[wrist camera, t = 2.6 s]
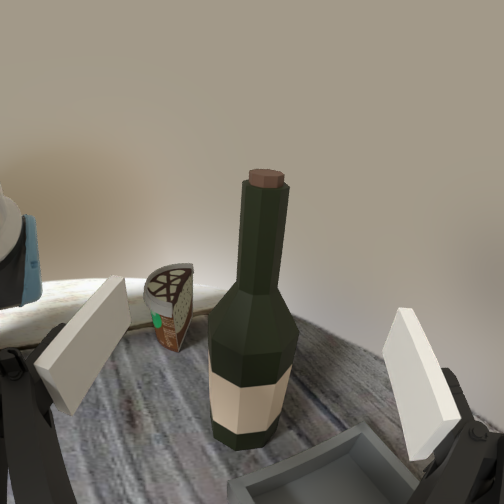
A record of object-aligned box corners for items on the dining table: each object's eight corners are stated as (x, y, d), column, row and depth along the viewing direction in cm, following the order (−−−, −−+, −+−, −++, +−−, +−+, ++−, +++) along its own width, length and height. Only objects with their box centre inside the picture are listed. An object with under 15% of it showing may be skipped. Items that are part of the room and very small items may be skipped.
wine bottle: (219, 393, 39) (225, 158, 26) (280, 405, 38) (324, 170, 25) (201, 442, 32) (189, 178, 19) (270, 457, 31) (328, 195, 18)
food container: (162, 306, 56) (158, 258, 51) (194, 311, 55) (193, 262, 51) (138, 351, 45) (128, 298, 40) (176, 359, 44) (170, 305, 40)
